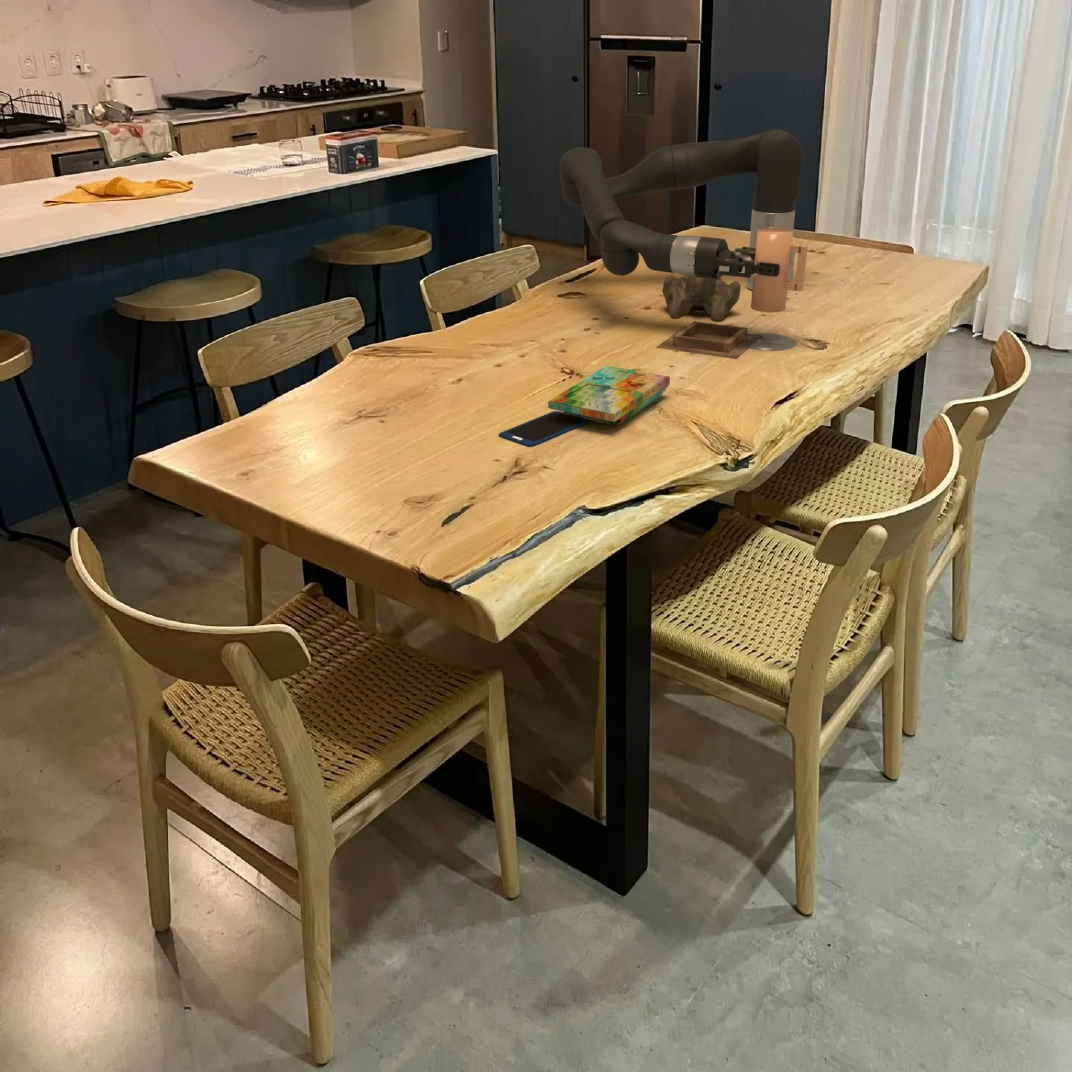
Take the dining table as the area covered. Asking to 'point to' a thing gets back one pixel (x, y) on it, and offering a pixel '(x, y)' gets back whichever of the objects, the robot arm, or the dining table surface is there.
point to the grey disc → (769, 342)
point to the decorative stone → (700, 296)
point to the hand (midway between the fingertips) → (784, 266)
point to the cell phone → (543, 428)
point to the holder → (709, 340)
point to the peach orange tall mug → (778, 250)
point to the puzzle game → (611, 395)
